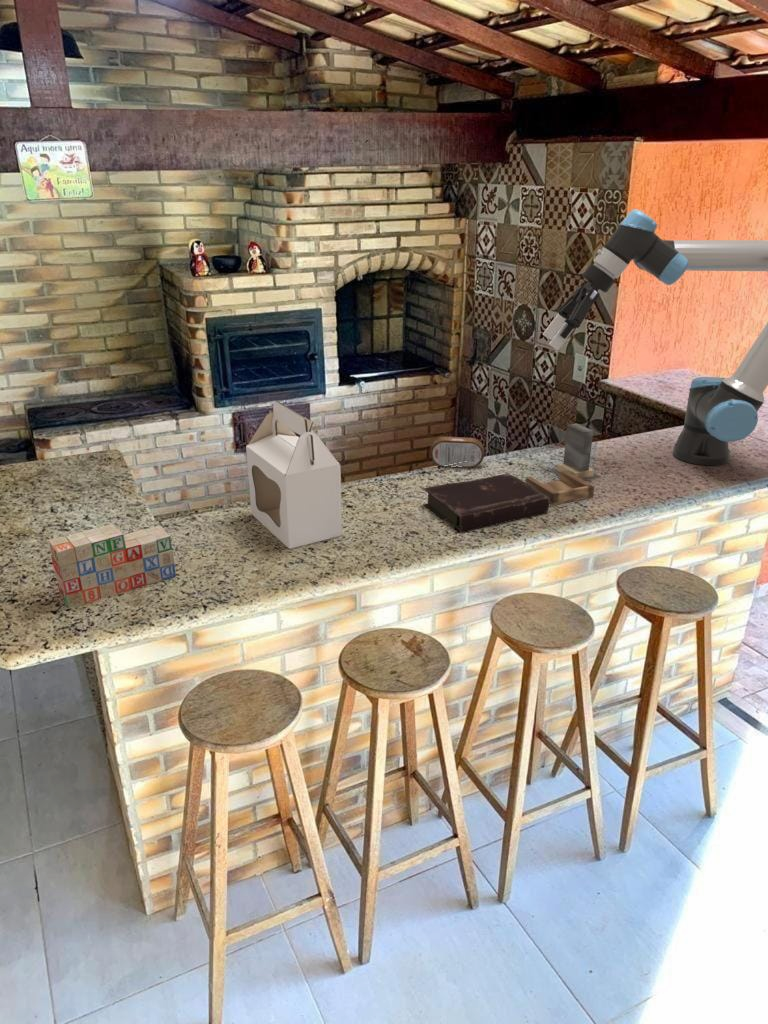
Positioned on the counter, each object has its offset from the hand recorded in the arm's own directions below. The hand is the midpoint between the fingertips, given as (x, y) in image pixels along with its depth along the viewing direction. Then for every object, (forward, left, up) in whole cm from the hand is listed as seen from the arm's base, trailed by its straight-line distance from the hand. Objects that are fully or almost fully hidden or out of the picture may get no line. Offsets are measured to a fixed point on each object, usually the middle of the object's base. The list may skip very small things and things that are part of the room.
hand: (549, 342), depth 196 cm
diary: (+28, +17, -36) cm, 48 cm away
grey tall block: (-6, +8, -34) cm, 36 cm away
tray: (+6, +17, -35) cm, 39 cm away
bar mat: (-6, +8, -35) cm, 36 cm away
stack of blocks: (+114, +20, -35) cm, 121 cm away
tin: (+20, -11, -35) cm, 42 cm away
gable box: (+73, +7, -35) cm, 81 cm away
